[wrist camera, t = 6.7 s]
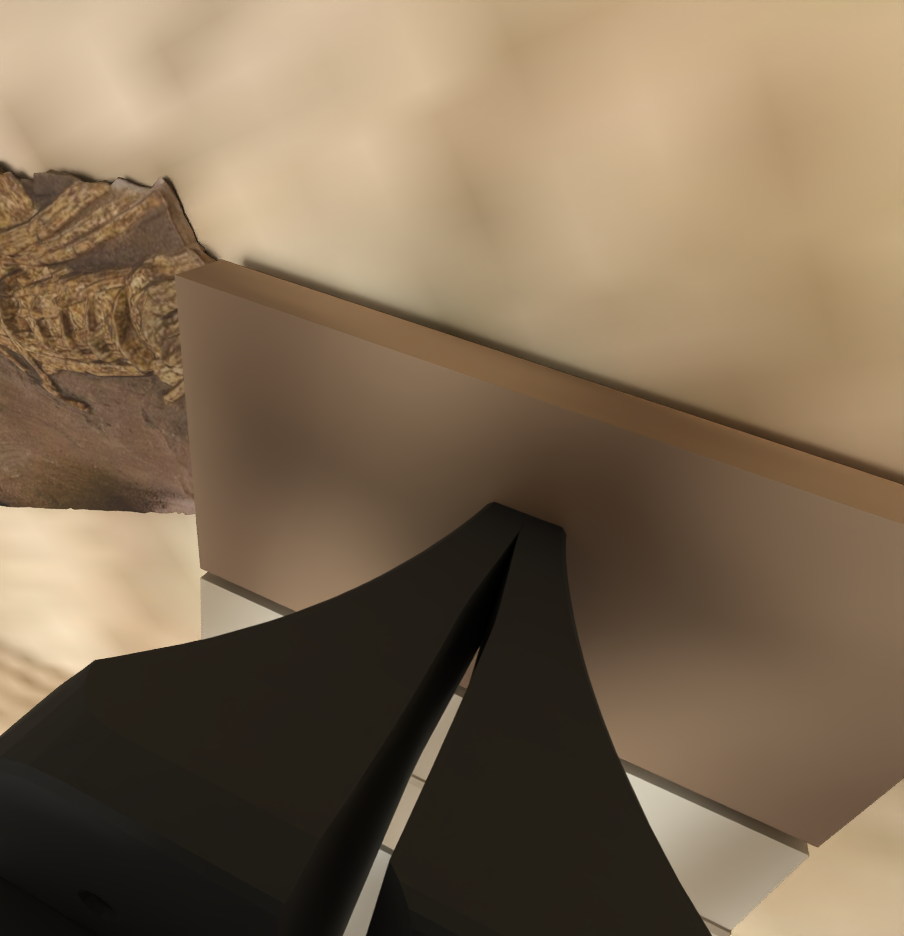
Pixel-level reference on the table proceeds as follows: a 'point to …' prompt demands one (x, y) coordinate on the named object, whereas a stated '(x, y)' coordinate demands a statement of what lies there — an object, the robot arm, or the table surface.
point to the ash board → (664, 802)
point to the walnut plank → (585, 523)
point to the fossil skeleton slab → (93, 345)
